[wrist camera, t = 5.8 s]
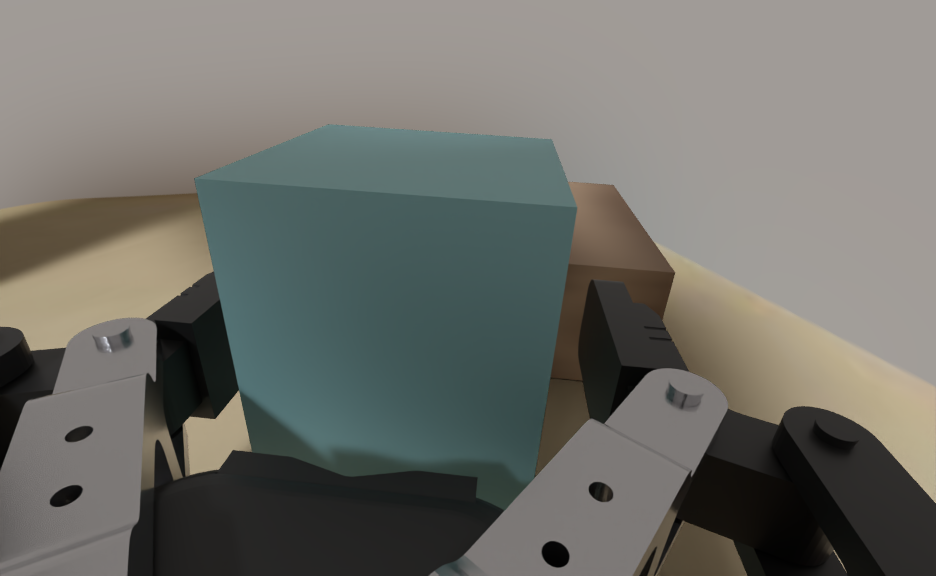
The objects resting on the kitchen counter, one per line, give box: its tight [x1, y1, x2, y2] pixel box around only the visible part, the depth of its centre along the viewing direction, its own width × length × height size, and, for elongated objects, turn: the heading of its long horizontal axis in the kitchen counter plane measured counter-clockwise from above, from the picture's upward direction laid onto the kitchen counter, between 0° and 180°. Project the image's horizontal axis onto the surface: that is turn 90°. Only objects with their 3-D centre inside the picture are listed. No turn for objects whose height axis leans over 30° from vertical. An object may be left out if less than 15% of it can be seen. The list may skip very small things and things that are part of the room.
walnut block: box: [550, 182, 675, 381], centre depth 23 cm, size 12×12×5 cm
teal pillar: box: [194, 124, 577, 510], centre depth 11 cm, size 5×5×10 cm
